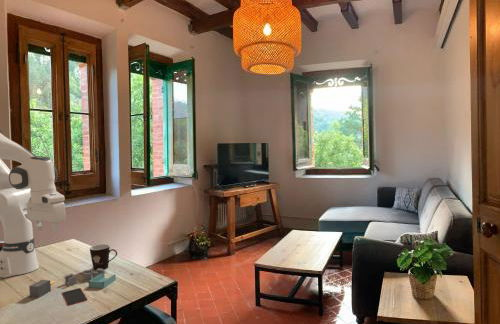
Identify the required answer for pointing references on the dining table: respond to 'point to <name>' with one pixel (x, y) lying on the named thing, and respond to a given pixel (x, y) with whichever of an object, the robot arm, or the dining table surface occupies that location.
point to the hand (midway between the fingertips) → (47, 231)
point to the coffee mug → (101, 256)
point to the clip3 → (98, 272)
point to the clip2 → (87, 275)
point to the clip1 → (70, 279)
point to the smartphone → (74, 296)
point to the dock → (101, 281)
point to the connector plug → (40, 288)
